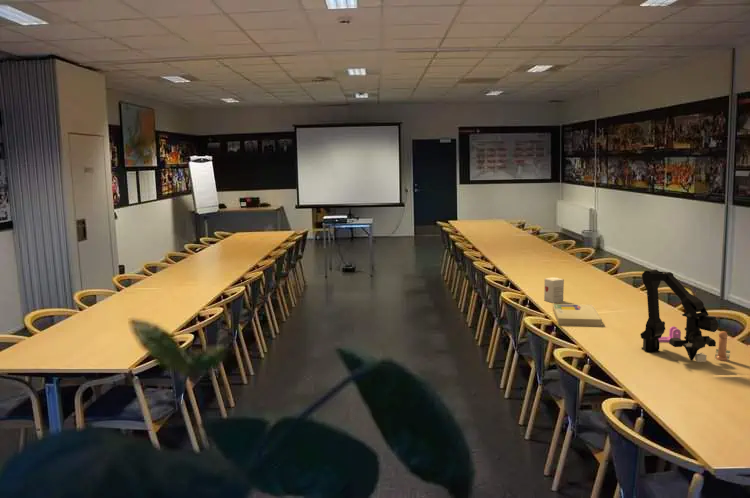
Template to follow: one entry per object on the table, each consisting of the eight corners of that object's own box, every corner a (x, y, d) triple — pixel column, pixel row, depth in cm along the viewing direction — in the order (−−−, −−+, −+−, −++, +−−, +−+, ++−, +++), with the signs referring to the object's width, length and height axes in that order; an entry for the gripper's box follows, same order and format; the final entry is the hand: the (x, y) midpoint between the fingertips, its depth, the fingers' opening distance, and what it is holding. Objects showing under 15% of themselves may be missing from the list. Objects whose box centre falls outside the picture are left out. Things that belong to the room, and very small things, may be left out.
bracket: (676, 339, 330) (677, 326, 329) (680, 342, 325) (680, 329, 324) (650, 339, 332) (650, 326, 331) (653, 342, 326) (654, 329, 325)
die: (697, 363, 292) (697, 355, 291) (693, 361, 296) (693, 352, 295) (706, 363, 292) (706, 355, 291) (701, 361, 296) (702, 352, 295)
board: (729, 364, 290) (729, 362, 290) (713, 362, 294) (713, 360, 293) (730, 352, 307) (731, 350, 307) (715, 350, 311) (715, 348, 310)
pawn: (719, 360, 292) (721, 332, 290) (714, 357, 297) (715, 329, 295) (729, 360, 292) (731, 332, 290) (723, 357, 297) (725, 329, 295)
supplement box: (543, 300, 422) (544, 278, 420) (554, 299, 426) (554, 276, 423) (552, 303, 414) (553, 280, 412) (563, 301, 418) (564, 279, 415)
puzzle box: (557, 326, 362) (602, 327, 358) (557, 318, 361) (602, 319, 357) (552, 310, 397) (593, 311, 393) (552, 303, 397) (593, 304, 392)
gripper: (680, 332, 284) (678, 366, 286) (723, 331, 283) (721, 365, 285) (669, 325, 295) (667, 358, 297) (710, 325, 294) (708, 357, 296)
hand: (691, 360), depth 294 cm, fingers closed
